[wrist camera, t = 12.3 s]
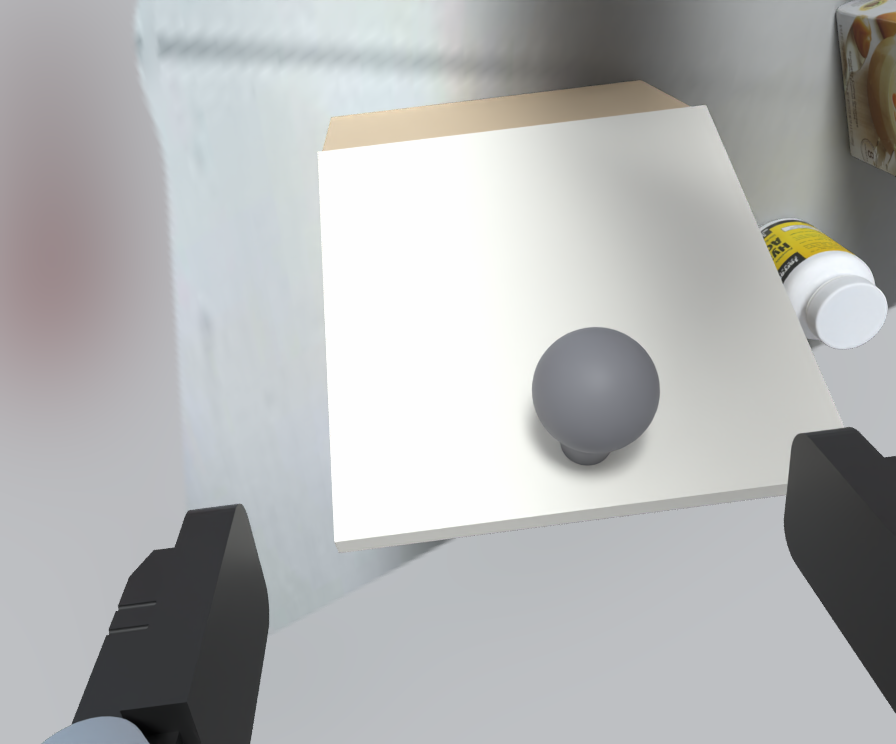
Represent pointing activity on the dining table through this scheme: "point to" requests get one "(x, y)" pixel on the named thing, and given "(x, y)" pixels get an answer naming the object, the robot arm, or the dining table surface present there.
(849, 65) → the coffee box
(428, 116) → the carton
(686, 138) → the lid
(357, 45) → the dining table surface
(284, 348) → the dining table surface
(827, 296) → the supplement bottle
